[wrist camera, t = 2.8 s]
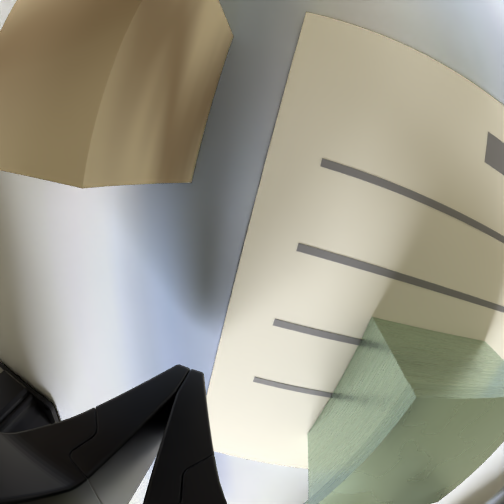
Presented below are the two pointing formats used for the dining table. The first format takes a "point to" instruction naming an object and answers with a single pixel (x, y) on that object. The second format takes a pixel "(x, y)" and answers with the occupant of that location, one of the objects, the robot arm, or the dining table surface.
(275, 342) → the letter
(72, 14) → the cube
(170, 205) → the dining table surface
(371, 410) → the translucent green block
